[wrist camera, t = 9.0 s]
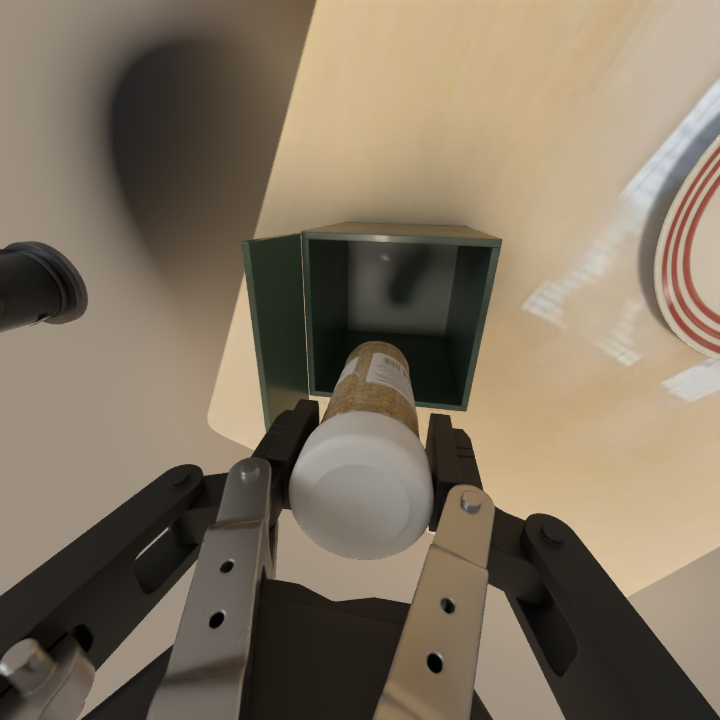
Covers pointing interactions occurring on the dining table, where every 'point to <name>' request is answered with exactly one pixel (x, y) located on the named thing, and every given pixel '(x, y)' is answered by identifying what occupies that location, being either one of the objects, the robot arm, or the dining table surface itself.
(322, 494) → the sprinkles bottle
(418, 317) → the chute
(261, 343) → the chute flap
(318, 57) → the dining table surface
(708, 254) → the dinner plate
